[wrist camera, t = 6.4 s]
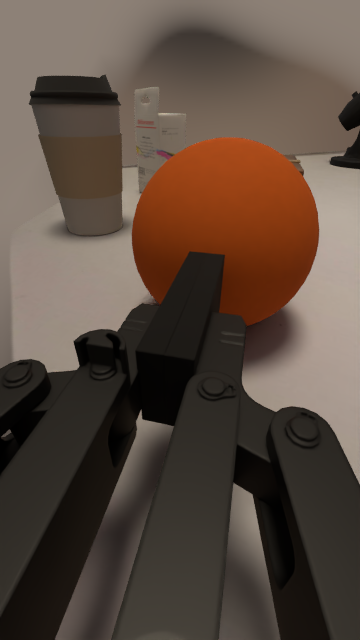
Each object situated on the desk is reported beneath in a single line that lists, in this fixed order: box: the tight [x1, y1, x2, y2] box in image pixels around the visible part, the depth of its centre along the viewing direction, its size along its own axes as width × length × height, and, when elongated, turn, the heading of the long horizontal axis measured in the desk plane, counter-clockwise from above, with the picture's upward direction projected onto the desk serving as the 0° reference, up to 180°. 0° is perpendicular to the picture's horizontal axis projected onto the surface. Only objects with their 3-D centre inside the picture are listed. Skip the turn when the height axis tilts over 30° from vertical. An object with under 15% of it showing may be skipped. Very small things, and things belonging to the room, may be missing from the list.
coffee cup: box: [29, 75, 122, 236], centre depth 34 cm, size 9×9×15 cm
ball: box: [132, 138, 319, 326], centre depth 19 cm, size 11×11×11 cm
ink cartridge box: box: [134, 87, 186, 192], centre depth 48 cm, size 9×5×15 cm, turn 32°
